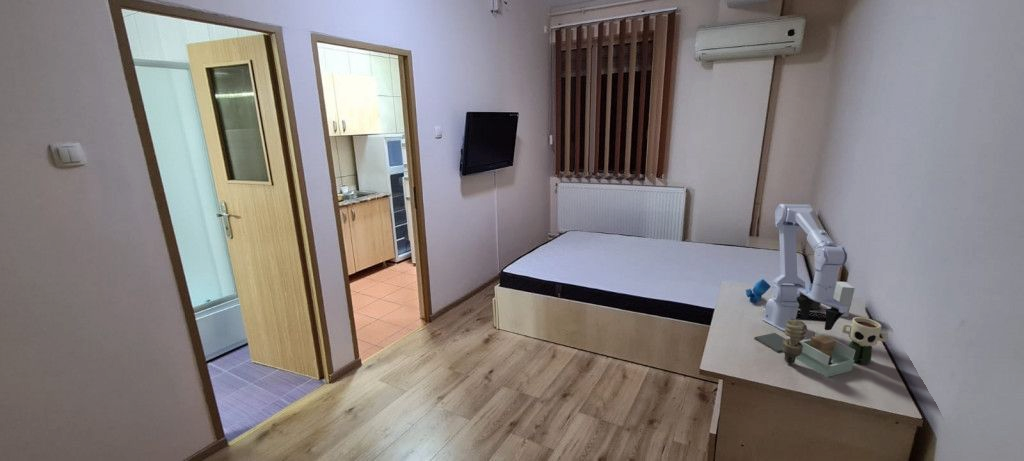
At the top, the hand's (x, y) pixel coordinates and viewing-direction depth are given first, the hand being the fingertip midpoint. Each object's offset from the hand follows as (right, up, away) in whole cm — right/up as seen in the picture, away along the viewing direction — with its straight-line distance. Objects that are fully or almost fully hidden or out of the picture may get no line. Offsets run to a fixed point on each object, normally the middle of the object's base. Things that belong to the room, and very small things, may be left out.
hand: (816, 323), depth 136 cm
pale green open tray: (-1, -11, -2) cm, 12 cm away
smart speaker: (+21, -1, +35) cm, 41 cm away
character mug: (+12, -11, -1) cm, 17 cm away
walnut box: (-1, -11, -2) cm, 12 cm away
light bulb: (-11, -12, -3) cm, 16 cm away
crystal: (+4, +1, +40) cm, 40 cm away
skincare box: (+29, -2, +29) cm, 41 cm away
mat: (-8, -8, +8) cm, 14 cm away
